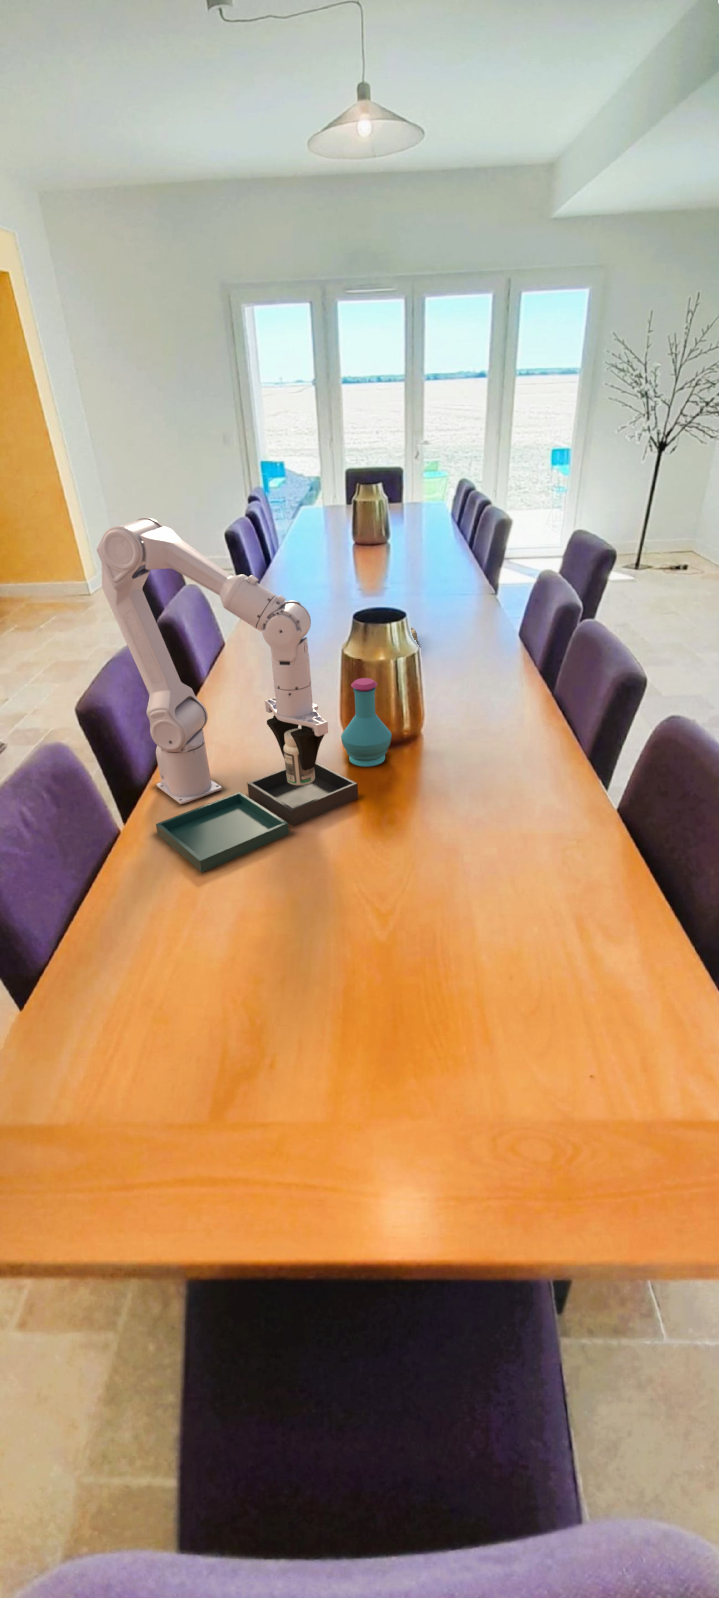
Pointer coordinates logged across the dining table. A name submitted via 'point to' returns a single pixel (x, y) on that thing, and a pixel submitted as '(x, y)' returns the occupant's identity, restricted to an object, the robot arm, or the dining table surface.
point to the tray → (221, 830)
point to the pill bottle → (295, 763)
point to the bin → (302, 794)
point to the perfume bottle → (365, 728)
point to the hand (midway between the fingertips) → (299, 763)
